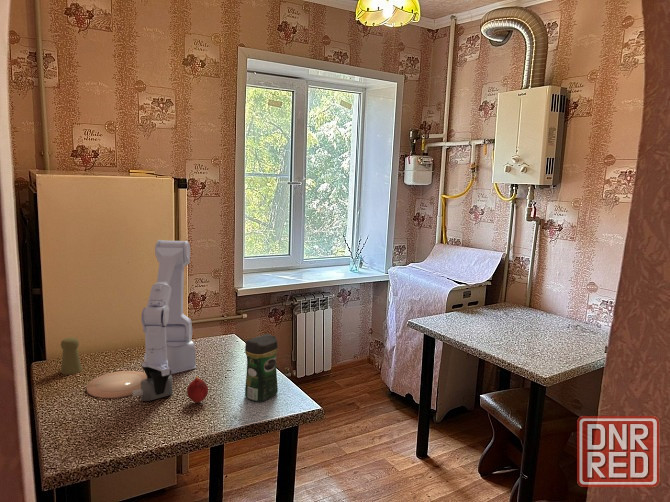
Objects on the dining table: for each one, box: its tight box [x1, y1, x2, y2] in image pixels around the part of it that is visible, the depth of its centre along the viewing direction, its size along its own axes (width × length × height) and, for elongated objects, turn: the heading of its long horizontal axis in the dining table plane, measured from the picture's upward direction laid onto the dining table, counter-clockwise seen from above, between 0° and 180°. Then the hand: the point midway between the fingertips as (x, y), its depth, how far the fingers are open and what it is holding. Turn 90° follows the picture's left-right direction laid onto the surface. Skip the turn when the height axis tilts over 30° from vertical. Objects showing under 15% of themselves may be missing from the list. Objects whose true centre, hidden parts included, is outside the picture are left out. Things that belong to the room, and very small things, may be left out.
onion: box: [186, 375, 209, 404], centre depth 138 cm, size 6×6×8 cm
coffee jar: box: [244, 333, 279, 403], centre depth 143 cm, size 10×8×19 cm
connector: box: [131, 374, 174, 402], centre depth 140 cm, size 11×4×5 cm, turn 131°
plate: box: [86, 370, 147, 399], centre depth 148 cm, size 18×18×1 cm
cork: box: [60, 337, 82, 376], centre depth 156 cm, size 6×6×11 cm
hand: (157, 390), depth 141 cm, fingers closed on connector, 4 cm apart
